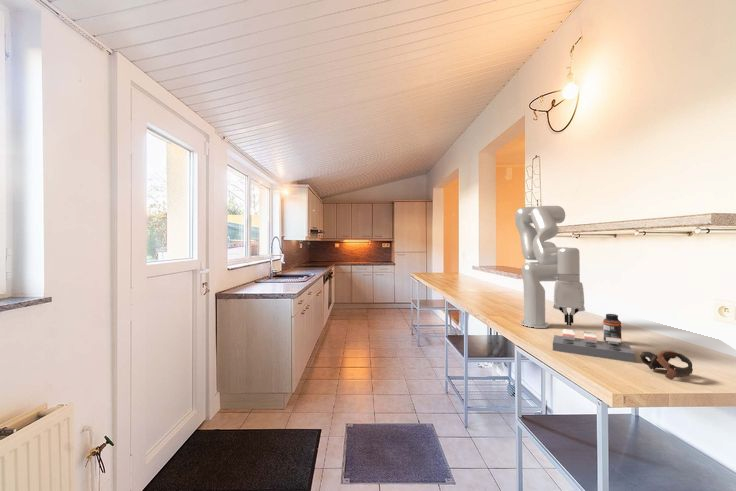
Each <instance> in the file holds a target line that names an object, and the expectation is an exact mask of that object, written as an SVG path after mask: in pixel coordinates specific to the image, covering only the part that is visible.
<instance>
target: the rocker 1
mask: <svg viewBox="0 0 736 491" xmlns="http://www.w3.org/2000/svg"><path fill="white" fill-rule="evenodd" d="M575 334H576V333H575V329H568V328H567V329H566V328H562V335H561V336H562V339H569V340H575V338H576V337H575V336H576V335H575Z"/></svg>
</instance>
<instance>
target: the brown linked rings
mask: <svg viewBox="0 0 736 491" xmlns="http://www.w3.org/2000/svg"><path fill="white" fill-rule="evenodd" d="M639 358H640V360H641V361H642V363H643V364H644V365H646V366H647V367H648V368H649V369H650V370H653V371H654V370H656V369H665V370H666V374H664V375H665V376H664V377H665V378H666V379H668V380H671V381H673V380H674V379H675V378H685V377H690V376H691V375H692V374H693V371H694V369H693V363H692V360H690V359H689V357H687V356H685V355H683V354H682V353H679V352H677V351H674V350H673V351H672V350H663V351H661V352H660V353H656V354H655V353H652V352H651V351H642V352H641V353H640V354H639ZM676 358H679V359H680V360H681V362H682V363H685V364H687V366H685V367H680V366H676V365H674V364H672V363H670V362H669V361H671V360H672V359H676ZM648 359H649V360H648Z"/></svg>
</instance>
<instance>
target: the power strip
mask: <svg viewBox="0 0 736 491" xmlns="http://www.w3.org/2000/svg"><path fill="white" fill-rule="evenodd" d="M552 351H555V352H562V353H569V354H576V355H582V356H589V357H595V358H601V359H602V358H603V359H609V360H614V361H615V360H616V361H622V362H623V361H624V362H629V363H635V353H634V351H633V348H632V347H631V345H630V344H627V343H619V345H618V344H610V343H608V342H605V341H604V340H603V341H602V340H597V343H592V342H584V338H581V337H575V340H569V339H562V335H556V334H554V335H553V340H552Z"/></svg>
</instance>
